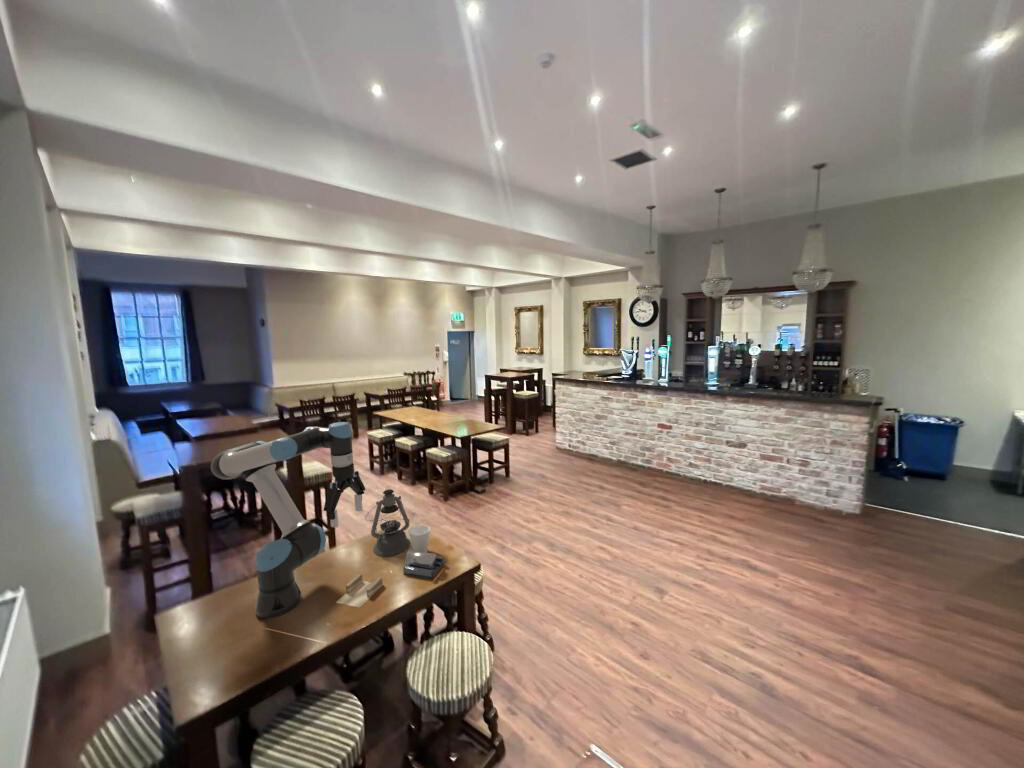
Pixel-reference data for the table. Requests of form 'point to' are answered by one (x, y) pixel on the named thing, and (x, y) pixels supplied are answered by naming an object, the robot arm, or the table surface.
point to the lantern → (390, 527)
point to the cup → (419, 537)
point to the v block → (424, 570)
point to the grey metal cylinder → (421, 559)
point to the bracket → (359, 591)
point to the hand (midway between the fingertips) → (347, 518)
